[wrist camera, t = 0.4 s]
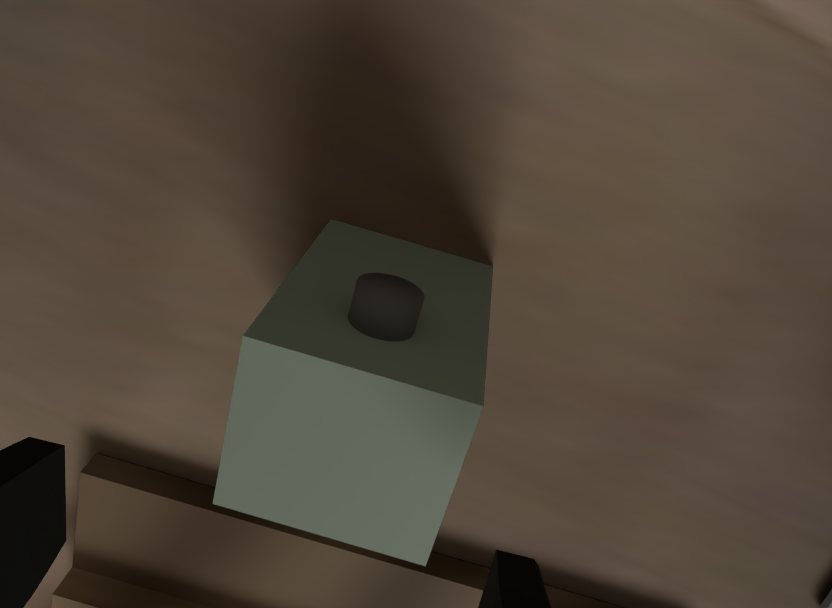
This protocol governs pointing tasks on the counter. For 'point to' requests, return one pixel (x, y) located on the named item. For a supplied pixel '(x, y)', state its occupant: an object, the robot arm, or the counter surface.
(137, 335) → the counter surface
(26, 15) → the counter surface
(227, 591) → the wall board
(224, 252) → the counter surface
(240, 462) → the cabinet block
